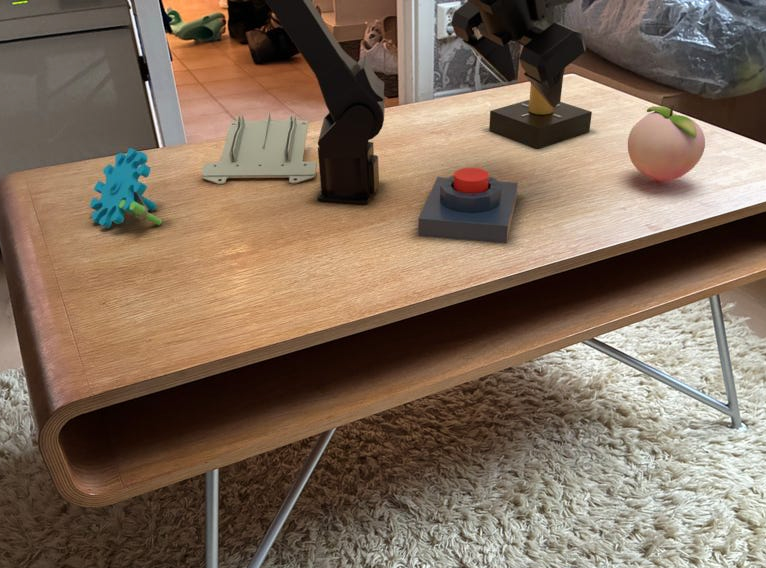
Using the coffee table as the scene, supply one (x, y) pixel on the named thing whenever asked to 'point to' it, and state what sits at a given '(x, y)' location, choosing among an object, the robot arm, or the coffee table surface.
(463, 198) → the block
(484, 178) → the release button
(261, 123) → the metal bracket
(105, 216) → the gear
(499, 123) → the dark brown square base
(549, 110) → the yellow cylinder
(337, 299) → the coffee table surface
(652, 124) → the decorative fruit
